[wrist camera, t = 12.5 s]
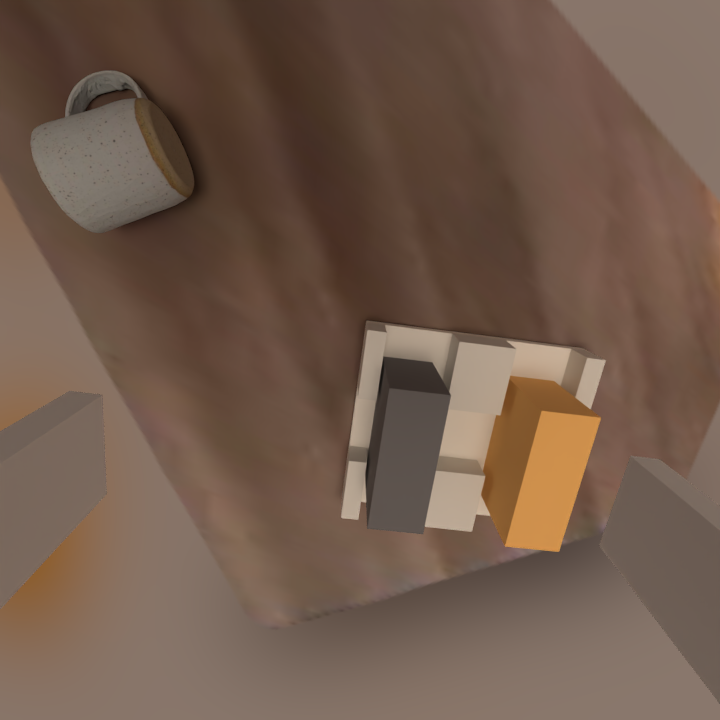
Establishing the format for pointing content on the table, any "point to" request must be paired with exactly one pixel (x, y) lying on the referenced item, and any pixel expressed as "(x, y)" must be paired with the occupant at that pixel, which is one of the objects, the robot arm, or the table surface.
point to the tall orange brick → (536, 462)
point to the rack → (458, 405)
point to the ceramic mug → (111, 156)
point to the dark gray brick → (404, 444)
